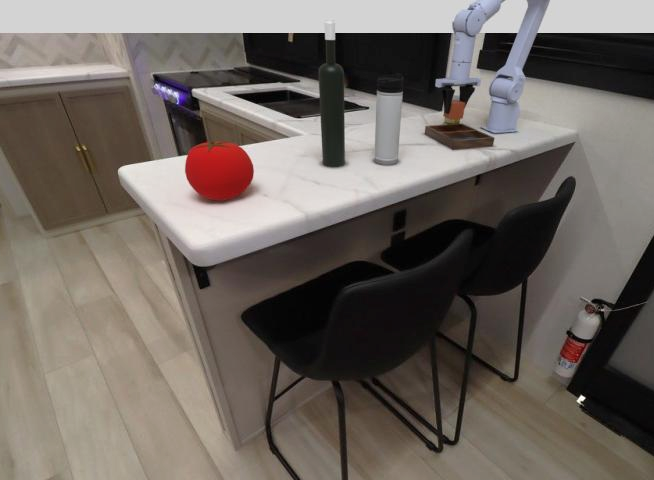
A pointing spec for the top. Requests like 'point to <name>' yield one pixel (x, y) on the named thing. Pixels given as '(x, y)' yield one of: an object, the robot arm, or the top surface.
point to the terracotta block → (456, 110)
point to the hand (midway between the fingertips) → (453, 112)
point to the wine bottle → (332, 104)
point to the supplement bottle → (452, 121)
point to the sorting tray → (459, 136)
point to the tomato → (219, 170)
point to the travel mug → (388, 118)
